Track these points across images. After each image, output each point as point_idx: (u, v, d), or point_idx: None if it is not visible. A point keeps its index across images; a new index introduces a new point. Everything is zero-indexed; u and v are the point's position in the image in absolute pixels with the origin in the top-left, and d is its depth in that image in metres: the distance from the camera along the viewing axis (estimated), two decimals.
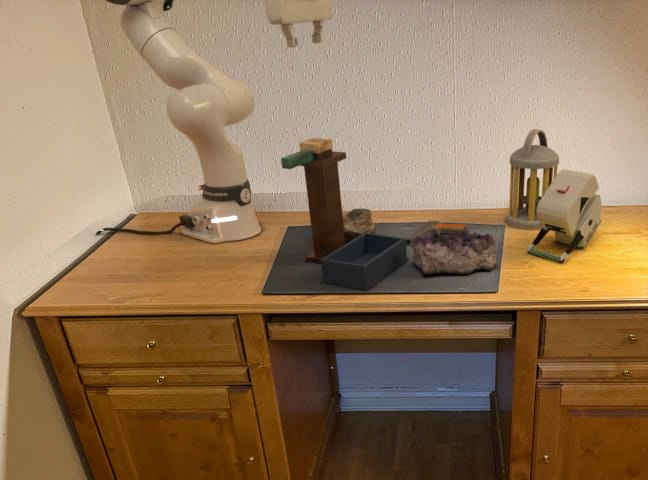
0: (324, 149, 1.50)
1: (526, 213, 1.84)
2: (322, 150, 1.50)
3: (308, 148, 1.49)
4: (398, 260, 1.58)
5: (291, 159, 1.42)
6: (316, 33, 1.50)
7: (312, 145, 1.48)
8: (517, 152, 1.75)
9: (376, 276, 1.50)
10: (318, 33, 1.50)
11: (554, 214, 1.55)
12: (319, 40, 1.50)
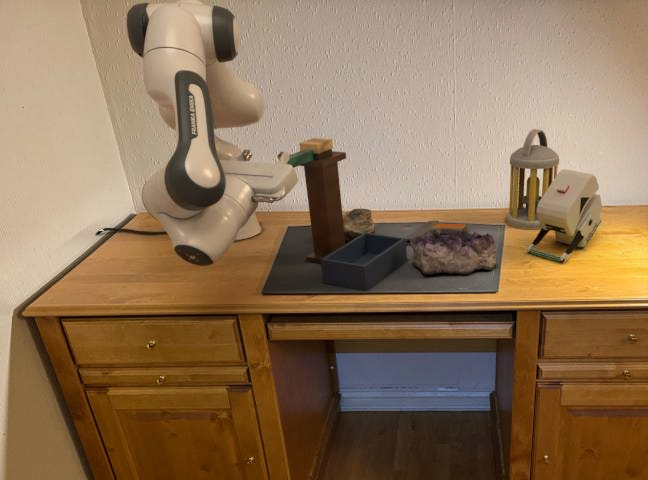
0: (324, 149, 1.50)
1: (526, 213, 1.84)
2: (322, 150, 1.50)
3: (308, 148, 1.49)
4: (398, 260, 1.58)
5: (291, 159, 1.42)
6: None
7: (312, 145, 1.48)
8: (517, 152, 1.75)
9: (376, 276, 1.50)
10: None
11: (554, 214, 1.55)
12: None
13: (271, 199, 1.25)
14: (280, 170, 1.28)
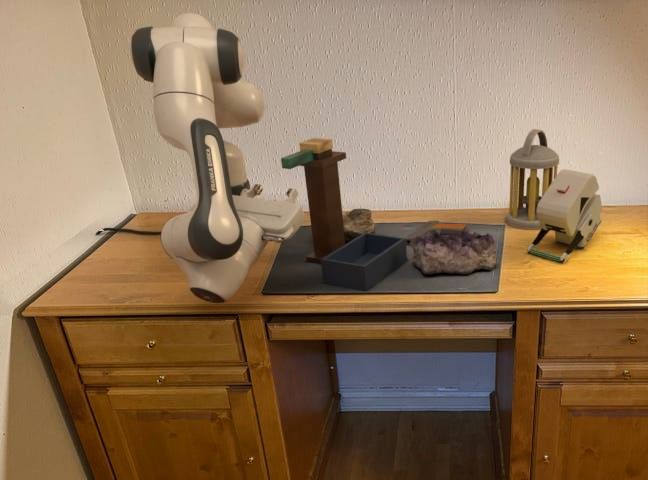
0: (324, 149, 1.50)
1: (526, 213, 1.84)
2: (322, 150, 1.50)
3: (308, 148, 1.49)
4: (398, 260, 1.58)
5: (291, 159, 1.42)
6: None
7: (312, 145, 1.48)
8: (517, 152, 1.75)
9: (376, 276, 1.50)
10: None
11: (554, 214, 1.55)
12: None
13: (280, 239, 1.32)
14: (288, 210, 1.34)
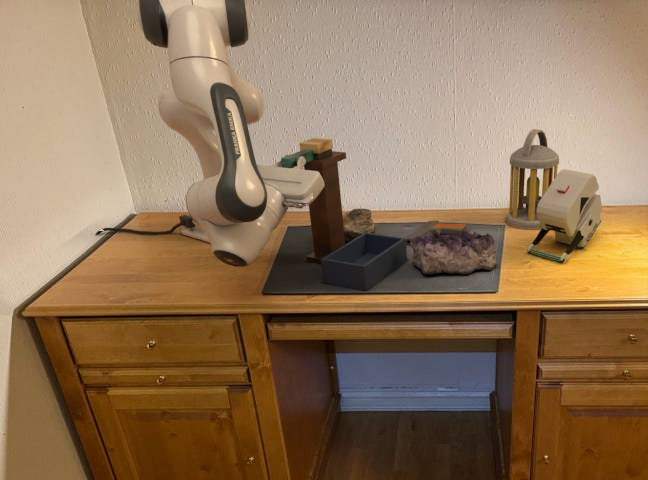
0: (324, 149, 1.50)
1: (526, 213, 1.84)
2: (322, 150, 1.50)
3: (308, 148, 1.49)
4: (398, 260, 1.58)
5: (291, 159, 1.42)
6: None
7: (312, 145, 1.48)
8: (517, 152, 1.75)
9: (376, 276, 1.50)
10: None
11: (554, 214, 1.55)
12: None
13: (300, 205, 1.36)
14: (308, 177, 1.38)
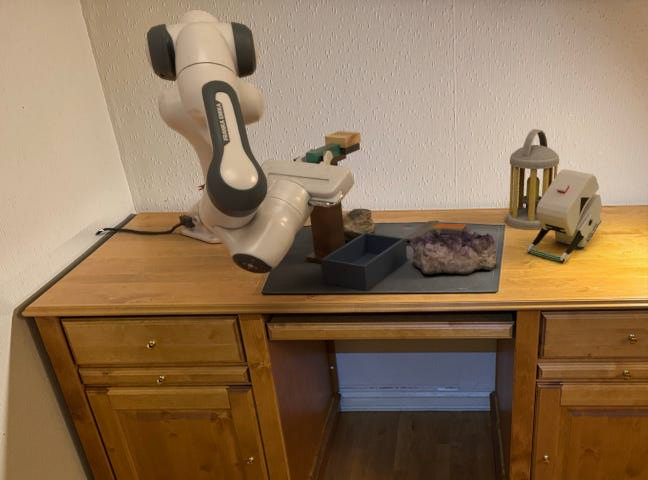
0: (352, 143, 1.37)
1: (526, 213, 1.84)
2: (350, 144, 1.36)
3: (334, 142, 1.36)
4: (398, 260, 1.58)
5: (317, 154, 1.29)
6: None
7: (339, 139, 1.35)
8: (517, 152, 1.75)
9: (376, 276, 1.50)
10: None
11: (554, 214, 1.55)
12: None
13: (328, 204, 1.23)
14: (336, 173, 1.25)
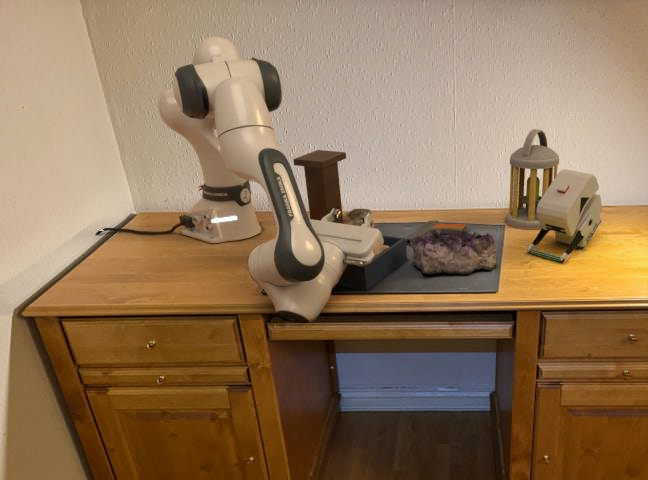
0: None
1: (526, 213, 1.84)
2: None
3: None
4: (398, 260, 1.58)
5: None
6: (365, 221, 1.44)
7: None
8: (517, 152, 1.75)
9: (376, 276, 1.50)
10: None
11: (554, 214, 1.55)
12: None
13: (361, 263, 1.37)
14: (368, 234, 1.39)
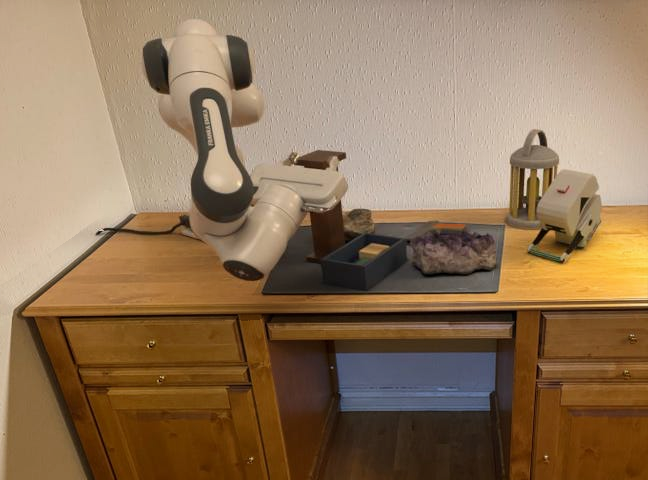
0: None
1: (526, 213, 1.84)
2: None
3: (367, 256, 1.56)
4: (398, 260, 1.58)
5: None
6: None
7: (371, 254, 1.55)
8: (517, 152, 1.75)
9: (376, 276, 1.50)
10: None
11: (554, 214, 1.55)
12: None
13: (321, 210, 1.20)
14: (330, 178, 1.22)
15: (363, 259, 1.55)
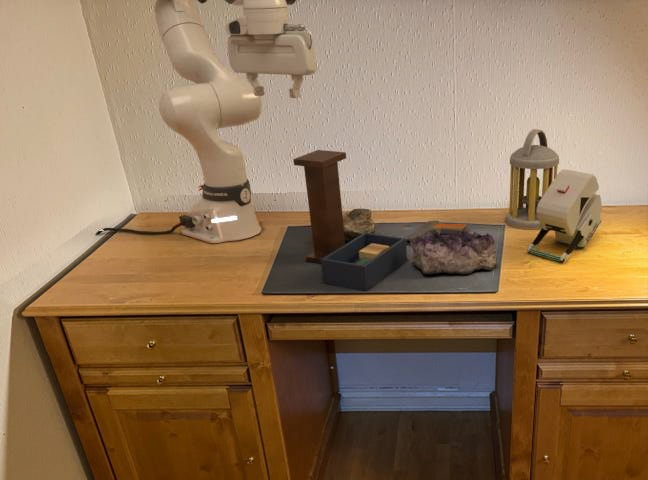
0: None
1: (526, 213, 1.84)
2: None
3: (367, 256, 1.56)
4: (398, 260, 1.58)
5: None
6: None
7: (371, 254, 1.55)
8: (517, 152, 1.75)
9: (376, 276, 1.50)
10: None
11: (554, 214, 1.55)
12: (291, 95, 1.38)
13: (304, 26, 1.30)
14: None
15: (363, 259, 1.55)
